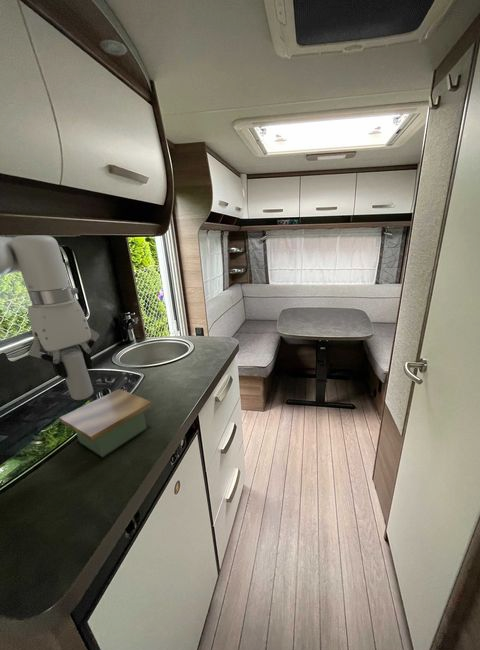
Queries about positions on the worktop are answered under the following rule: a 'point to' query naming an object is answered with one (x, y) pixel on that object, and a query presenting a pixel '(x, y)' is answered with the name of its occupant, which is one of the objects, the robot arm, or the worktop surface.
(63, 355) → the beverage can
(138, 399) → the board
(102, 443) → the box
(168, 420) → the worktop surface
